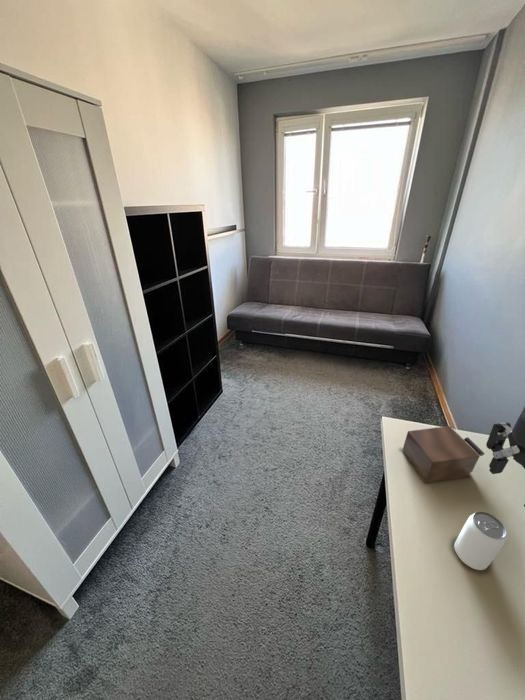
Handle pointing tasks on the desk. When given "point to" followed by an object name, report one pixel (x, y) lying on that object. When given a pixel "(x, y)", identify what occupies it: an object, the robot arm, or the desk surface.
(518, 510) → the desk surface
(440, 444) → the cabinet
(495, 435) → the robot arm
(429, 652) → the desk surface
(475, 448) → the drawer
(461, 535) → the can
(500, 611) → the desk surface
